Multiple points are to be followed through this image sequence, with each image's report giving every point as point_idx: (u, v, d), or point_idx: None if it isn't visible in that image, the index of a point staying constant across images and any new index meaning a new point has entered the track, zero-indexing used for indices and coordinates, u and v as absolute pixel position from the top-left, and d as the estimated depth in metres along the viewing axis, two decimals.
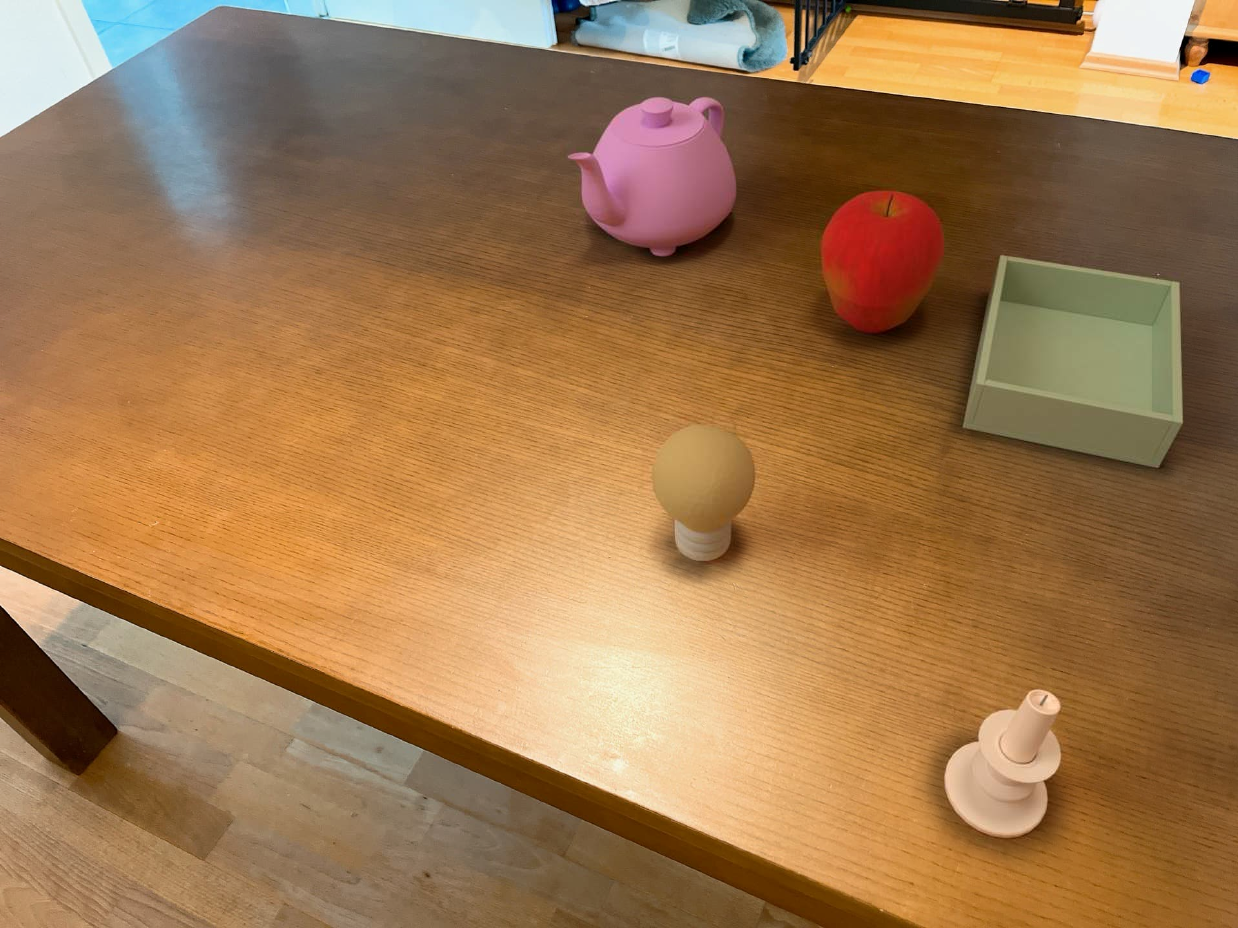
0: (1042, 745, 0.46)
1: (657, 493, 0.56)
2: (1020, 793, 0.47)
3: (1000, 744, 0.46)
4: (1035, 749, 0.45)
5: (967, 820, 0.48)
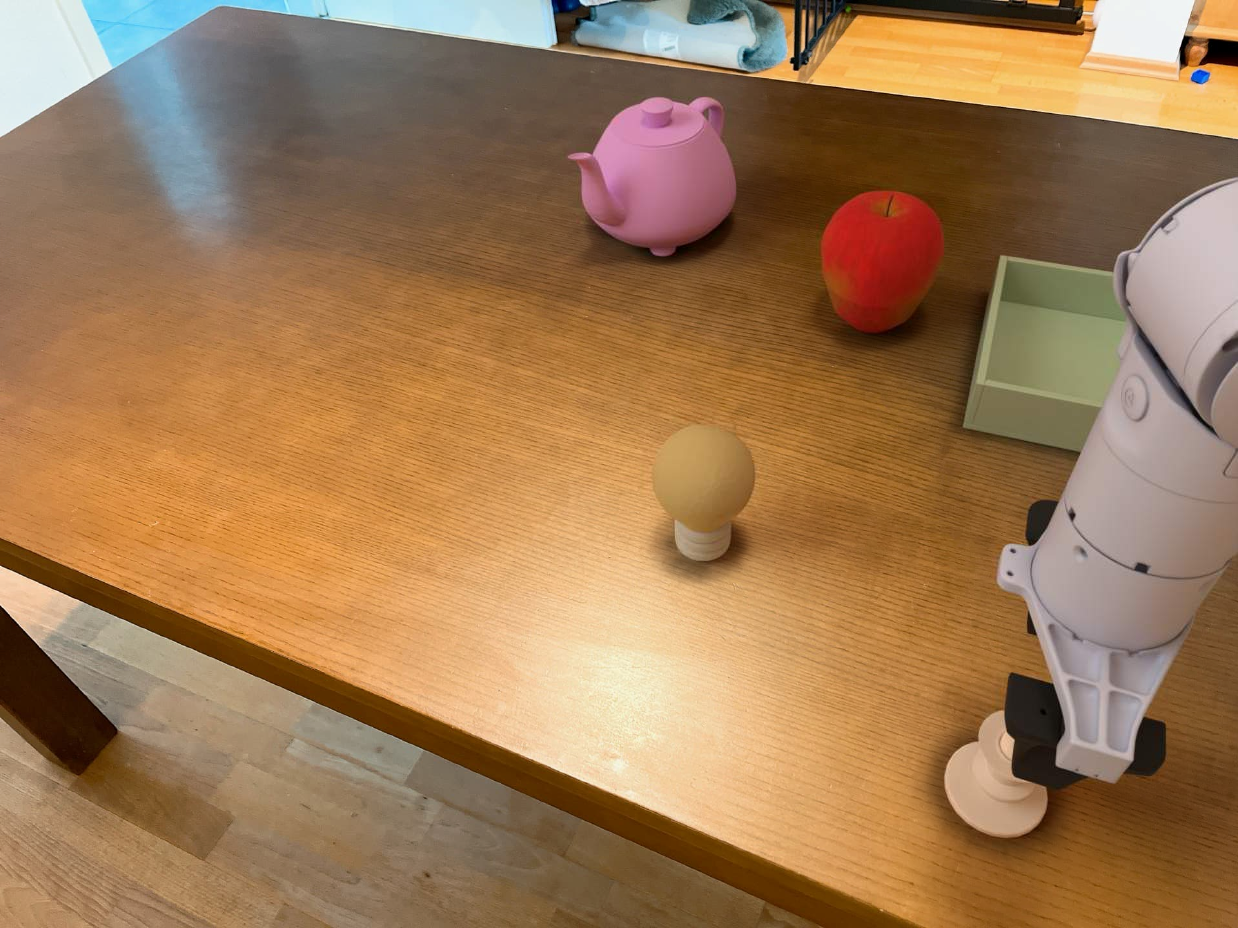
0: None
1: (657, 493, 0.56)
2: (1020, 793, 0.47)
3: (1000, 744, 0.46)
4: None
5: (967, 820, 0.48)
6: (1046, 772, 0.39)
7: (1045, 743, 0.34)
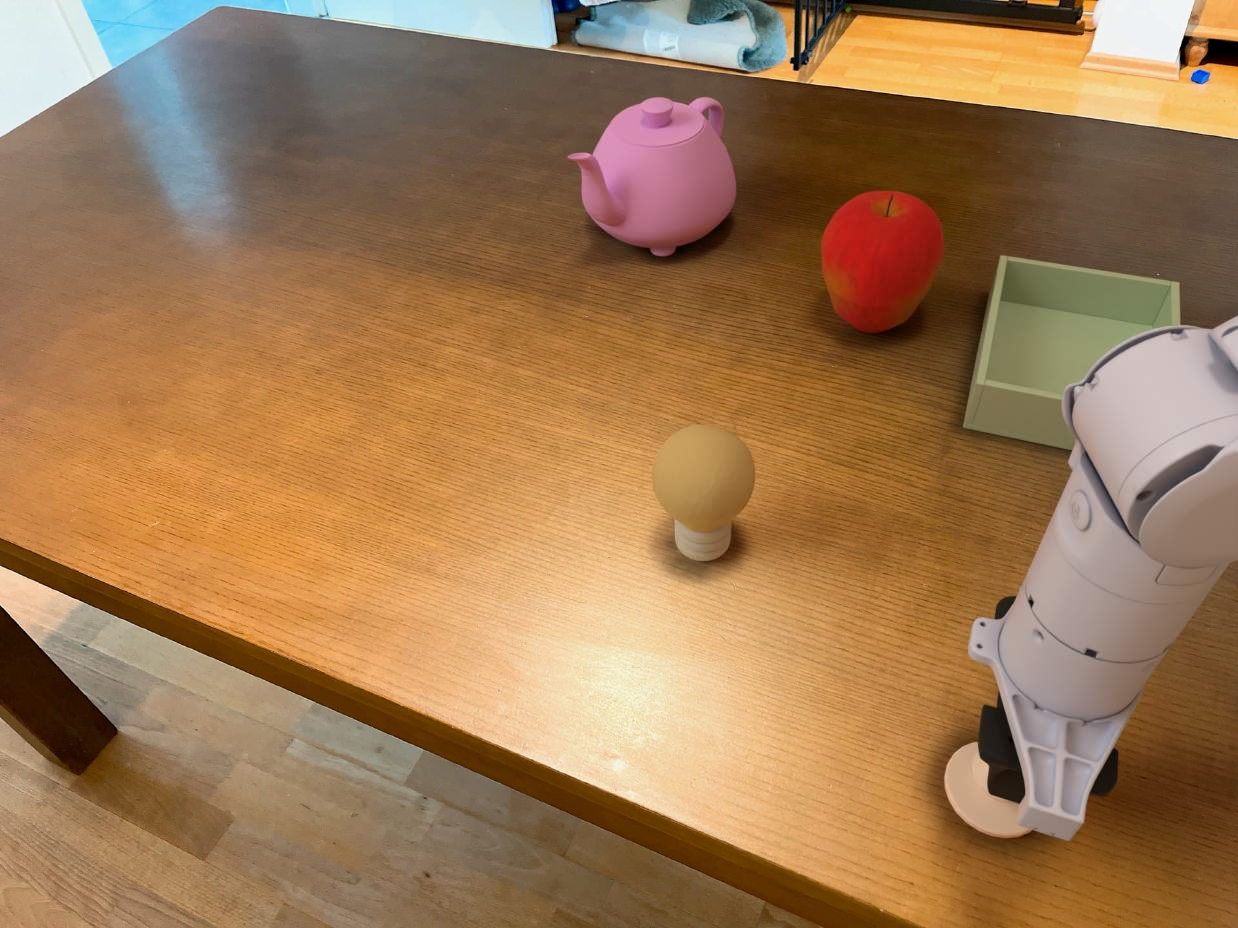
0: None
1: (657, 493, 0.56)
2: None
3: None
4: None
5: (967, 820, 0.48)
6: (1017, 791, 0.44)
7: (1012, 767, 0.39)
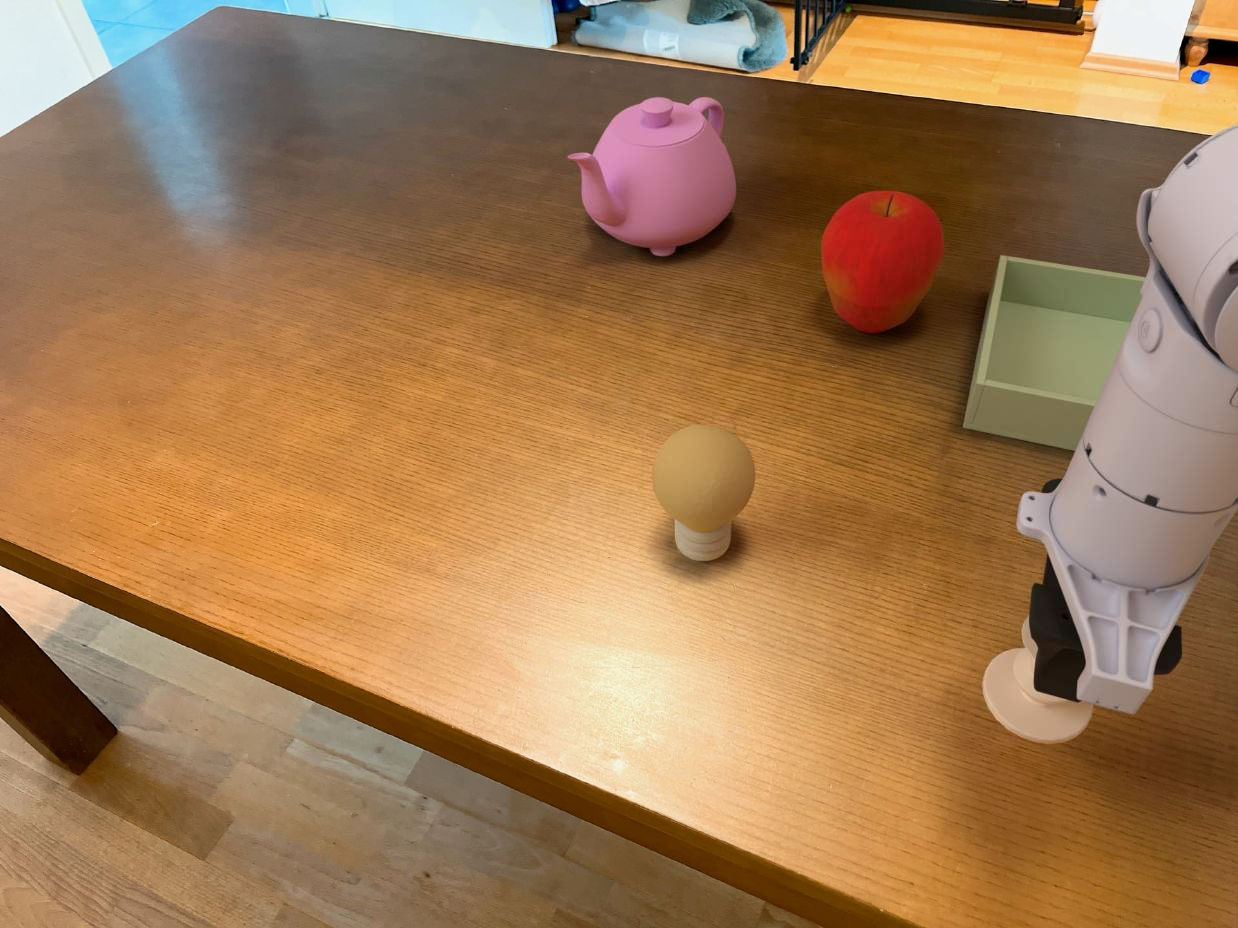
0: None
1: (657, 493, 0.56)
2: None
3: None
4: None
5: (1008, 726, 0.46)
6: (1067, 683, 0.41)
7: (1068, 644, 0.36)
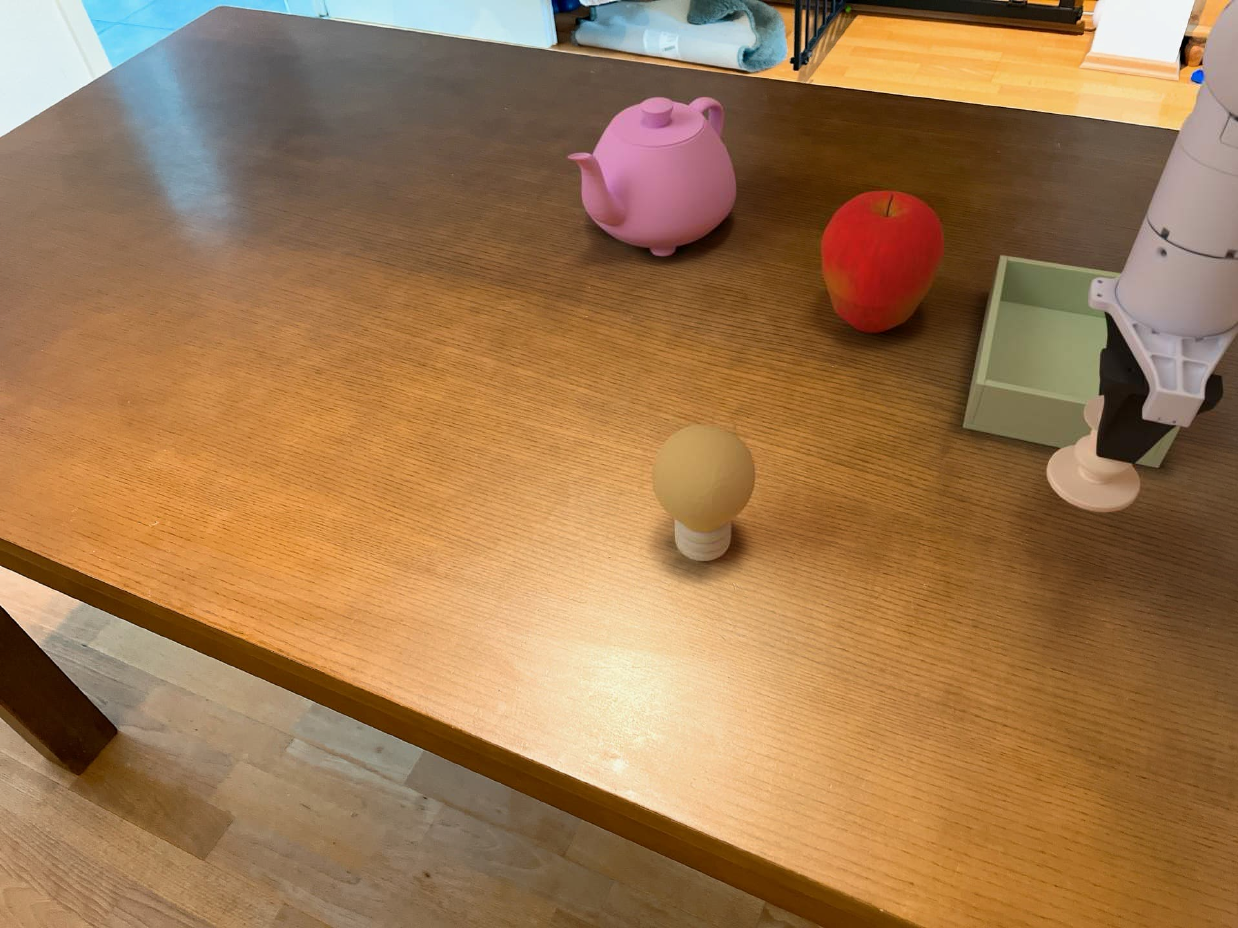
0: None
1: (657, 493, 0.56)
2: (1120, 467, 0.54)
3: None
4: None
5: (1070, 499, 0.55)
6: (1125, 444, 0.50)
7: (1132, 388, 0.46)
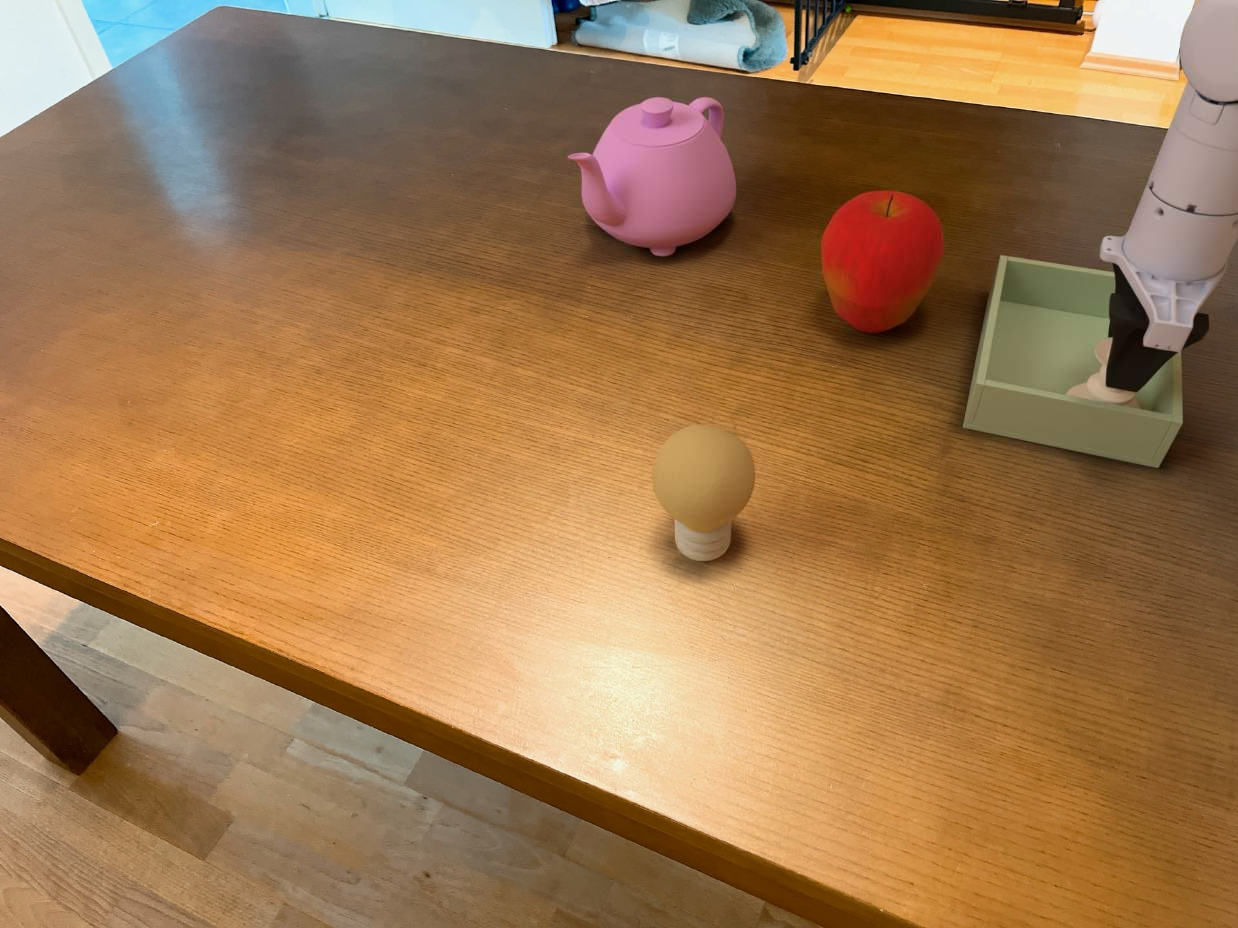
0: None
1: (657, 493, 0.56)
2: (1124, 397, 0.64)
3: None
4: None
5: None
6: (1129, 375, 0.61)
7: (1135, 324, 0.56)
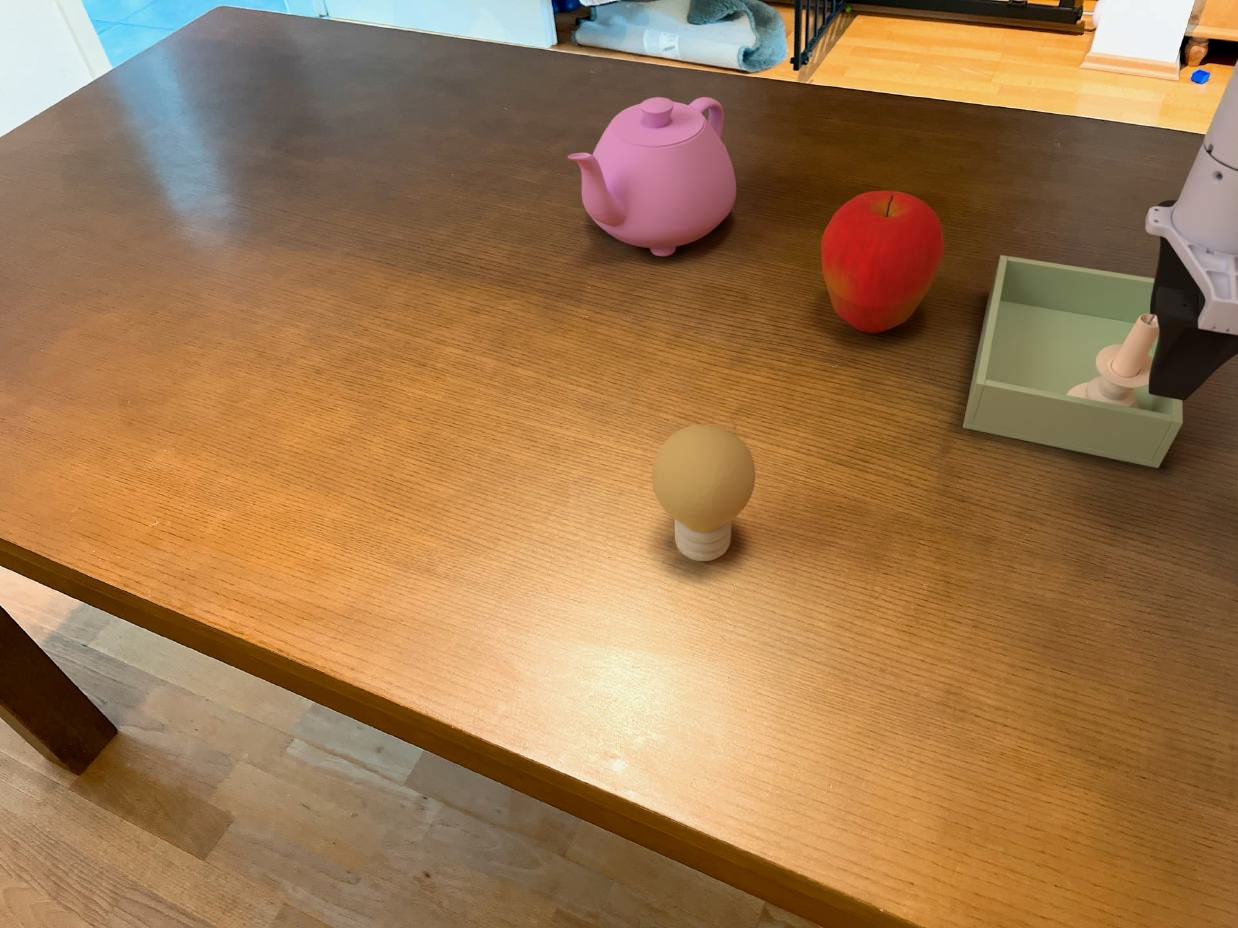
0: (1143, 365, 0.63)
1: (657, 493, 0.56)
2: (1123, 405, 0.64)
3: (1112, 366, 0.63)
4: (1140, 363, 0.61)
5: None
6: (1176, 381, 0.54)
7: (1188, 322, 0.49)
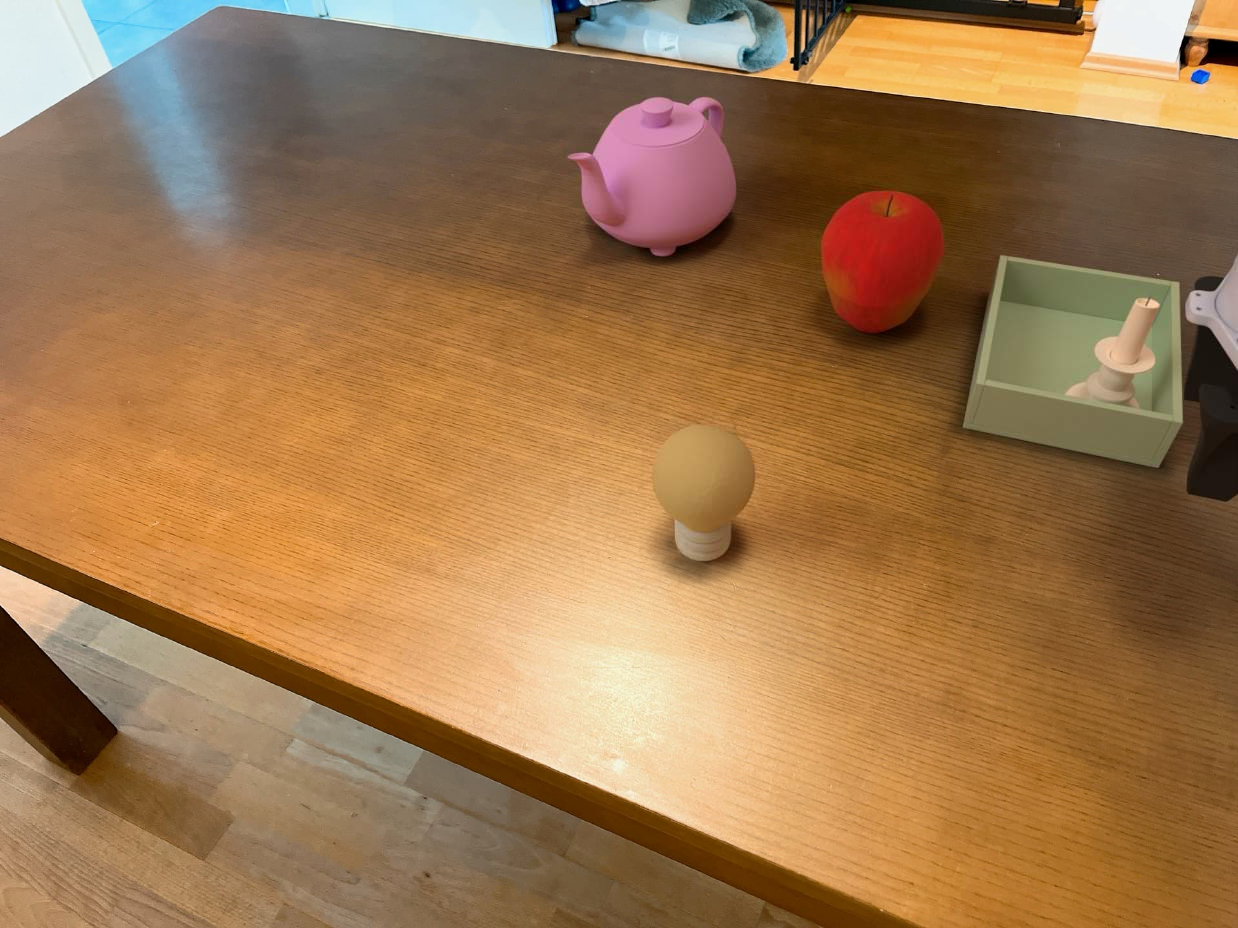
0: (1141, 355, 0.64)
1: (657, 493, 0.56)
2: (1124, 396, 0.65)
3: (1110, 355, 0.64)
4: (1138, 349, 0.63)
5: None
6: (1219, 482, 0.48)
7: (1236, 427, 0.43)
